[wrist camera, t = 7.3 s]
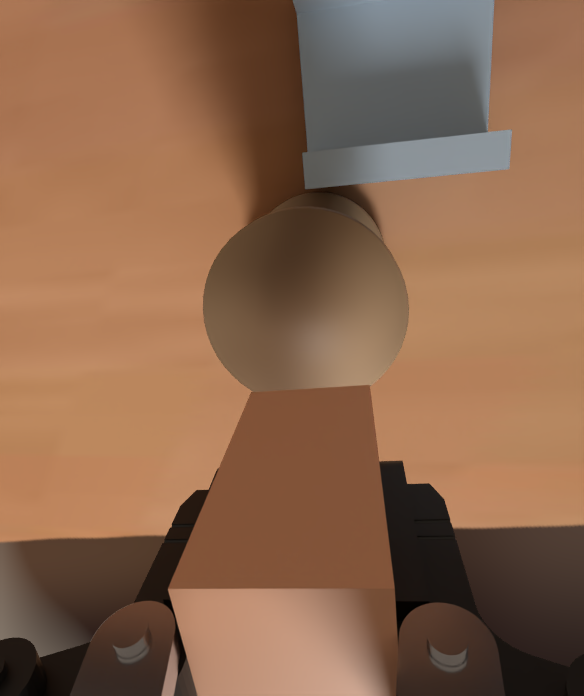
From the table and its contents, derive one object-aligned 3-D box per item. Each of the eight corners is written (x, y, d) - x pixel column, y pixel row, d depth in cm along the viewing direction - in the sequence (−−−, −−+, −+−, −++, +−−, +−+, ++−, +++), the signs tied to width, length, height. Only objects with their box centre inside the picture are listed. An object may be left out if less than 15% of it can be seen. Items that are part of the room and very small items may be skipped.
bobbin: (383, 185, 23) (408, 198, 14) (386, 320, 25) (409, 403, 16) (244, 198, 24) (186, 219, 15) (261, 327, 26) (219, 409, 17)
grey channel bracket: (488, -47, 19) (527, -105, 15) (478, 168, 22) (509, 168, 18) (296, -17, 20) (284, -62, 16) (311, 184, 23) (305, 189, 19)
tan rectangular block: (369, 384, 11) (394, 588, 6) (378, 515, 13) (406, 783, 7) (251, 392, 12) (168, 588, 6) (272, 518, 13) (218, 772, 8)
